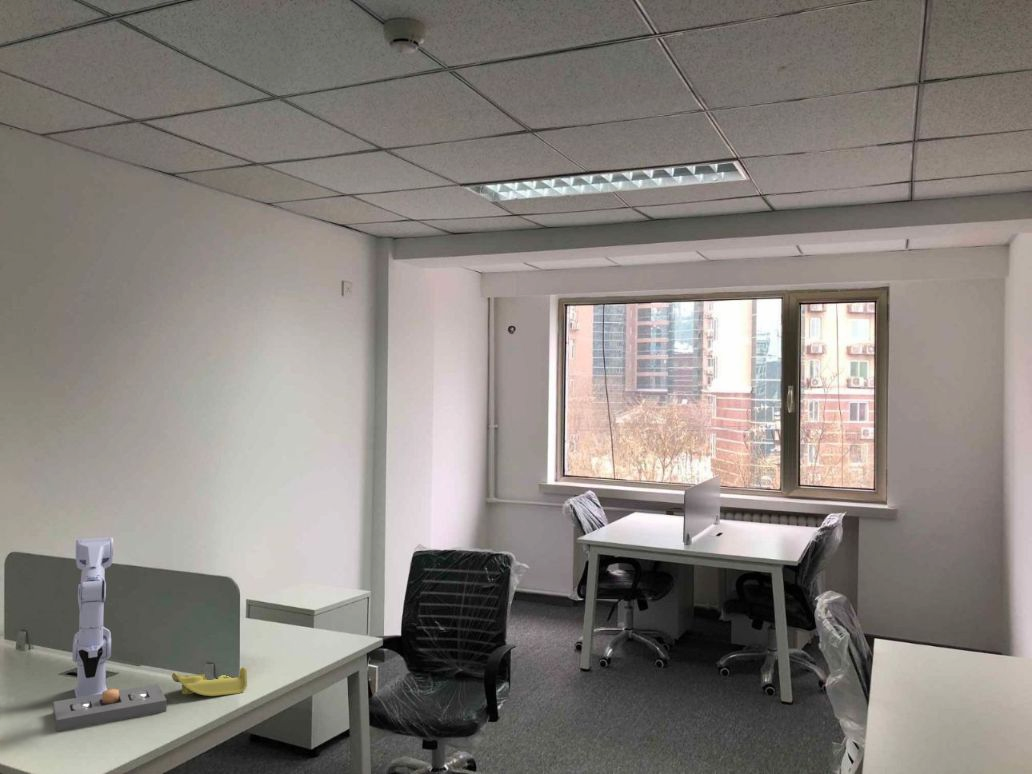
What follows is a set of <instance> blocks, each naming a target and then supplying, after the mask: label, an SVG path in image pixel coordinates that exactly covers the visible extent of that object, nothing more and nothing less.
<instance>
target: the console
mask: <svg viewBox="0 0 1032 774" xmlns="http://www.w3.org/2000/svg"><path fill="white" fill-rule="evenodd" d="M135 692H146V693H147V698H143V699H137V700H131V694H132V693H135ZM82 701H87V702H89V703H90V708H86V709H81V710H75V711H72V708H73V704H75V703H77V702H82ZM167 701H168V700H167V698H166V696H165V694H164V693H163V691H162V689H161V687H160V685H159V684H158V683H156V684H151V685H144V686H138V687H133V688H126V689H122V690H120V689H119V700H118V701H116V702H114V703H103V702H102V694H96V695H90V696H85V697H79V698H76V697H75V698H73V697H72V698H68V699H63V700H62V699H61V700H57V701H53V703H52V704H53V707H52V708H53V709H52V710H53V711H52V712H53V720H54V725H55V726H54V727H55V730H56V732H62V731H67V730H73V729H79V728H83V727H89V726H95V725H100V724H106V723H110V722H111V723H112V722H117V721H121V720H127V719H131V718H137V717H138V718H139V717H143V716H148V715H153V714H158V713H164V712H167V706H168V705H167Z"/></svg>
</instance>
